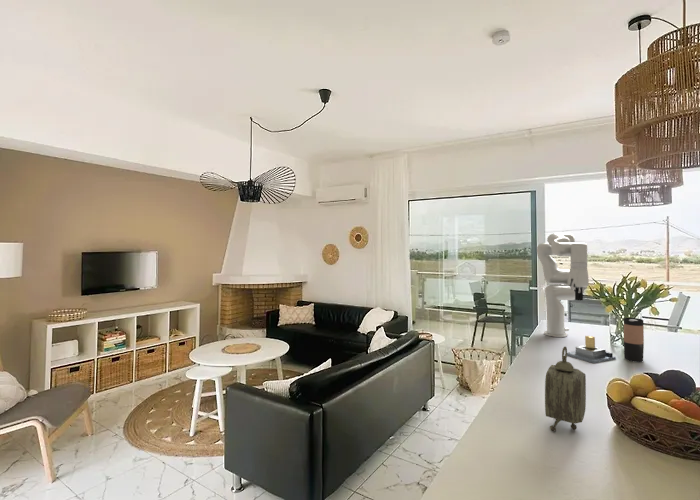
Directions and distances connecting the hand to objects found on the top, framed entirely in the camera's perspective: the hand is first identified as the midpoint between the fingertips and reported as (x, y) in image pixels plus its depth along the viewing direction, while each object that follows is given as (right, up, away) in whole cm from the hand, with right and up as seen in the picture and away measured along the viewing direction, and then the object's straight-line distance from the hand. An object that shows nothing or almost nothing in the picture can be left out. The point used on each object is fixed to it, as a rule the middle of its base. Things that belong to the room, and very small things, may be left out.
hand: (578, 300), depth 187 cm
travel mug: (+16, -27, -16) cm, 36 cm away
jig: (-2, -27, -11) cm, 30 cm away
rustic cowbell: (-56, -29, -79) cm, 101 cm away
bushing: (-2, -26, -11) cm, 28 cm away
